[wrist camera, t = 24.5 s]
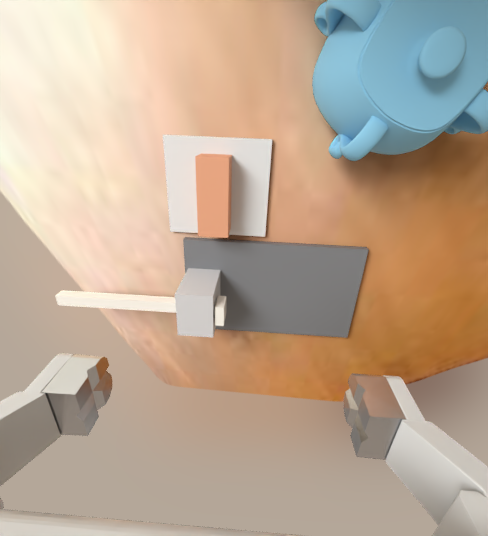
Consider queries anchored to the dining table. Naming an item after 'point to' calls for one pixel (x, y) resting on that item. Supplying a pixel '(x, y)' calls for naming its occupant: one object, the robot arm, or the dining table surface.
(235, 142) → the white mat
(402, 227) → the dining table surface
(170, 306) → the bar
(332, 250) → the board
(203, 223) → the salmon orange rectangular block
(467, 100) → the decorative pot
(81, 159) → the dining table surface
